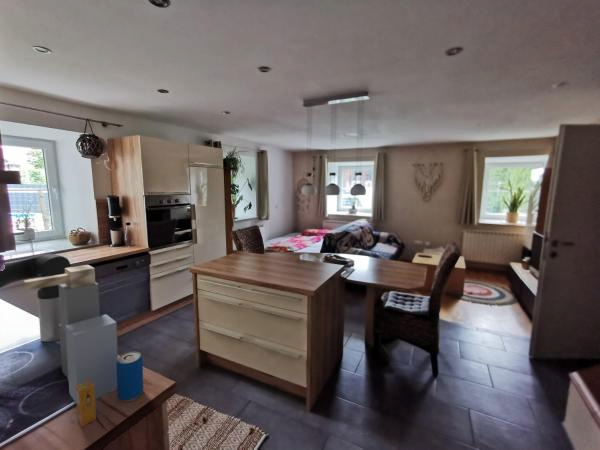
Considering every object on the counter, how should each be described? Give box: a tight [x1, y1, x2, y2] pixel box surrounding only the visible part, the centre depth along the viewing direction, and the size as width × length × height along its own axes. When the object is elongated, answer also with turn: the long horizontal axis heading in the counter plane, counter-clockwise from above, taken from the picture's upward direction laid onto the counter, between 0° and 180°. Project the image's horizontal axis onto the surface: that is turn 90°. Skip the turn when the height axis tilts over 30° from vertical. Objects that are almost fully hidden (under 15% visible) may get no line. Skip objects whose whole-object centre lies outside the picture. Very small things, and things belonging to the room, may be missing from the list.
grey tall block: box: [65, 314, 119, 405], centre depth 82 cm, size 8×10×21 cm
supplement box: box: [75, 380, 97, 428], centre depth 72 cm, size 3×3×10 cm
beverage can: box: [116, 351, 144, 402], centre depth 81 cm, size 6×6×12 cm
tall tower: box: [59, 281, 101, 381], centre depth 89 cm, size 12×8×30 cm, turn 53°
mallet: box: [23, 264, 96, 292], centre depth 83 cm, size 16×6×5 cm, turn 143°
